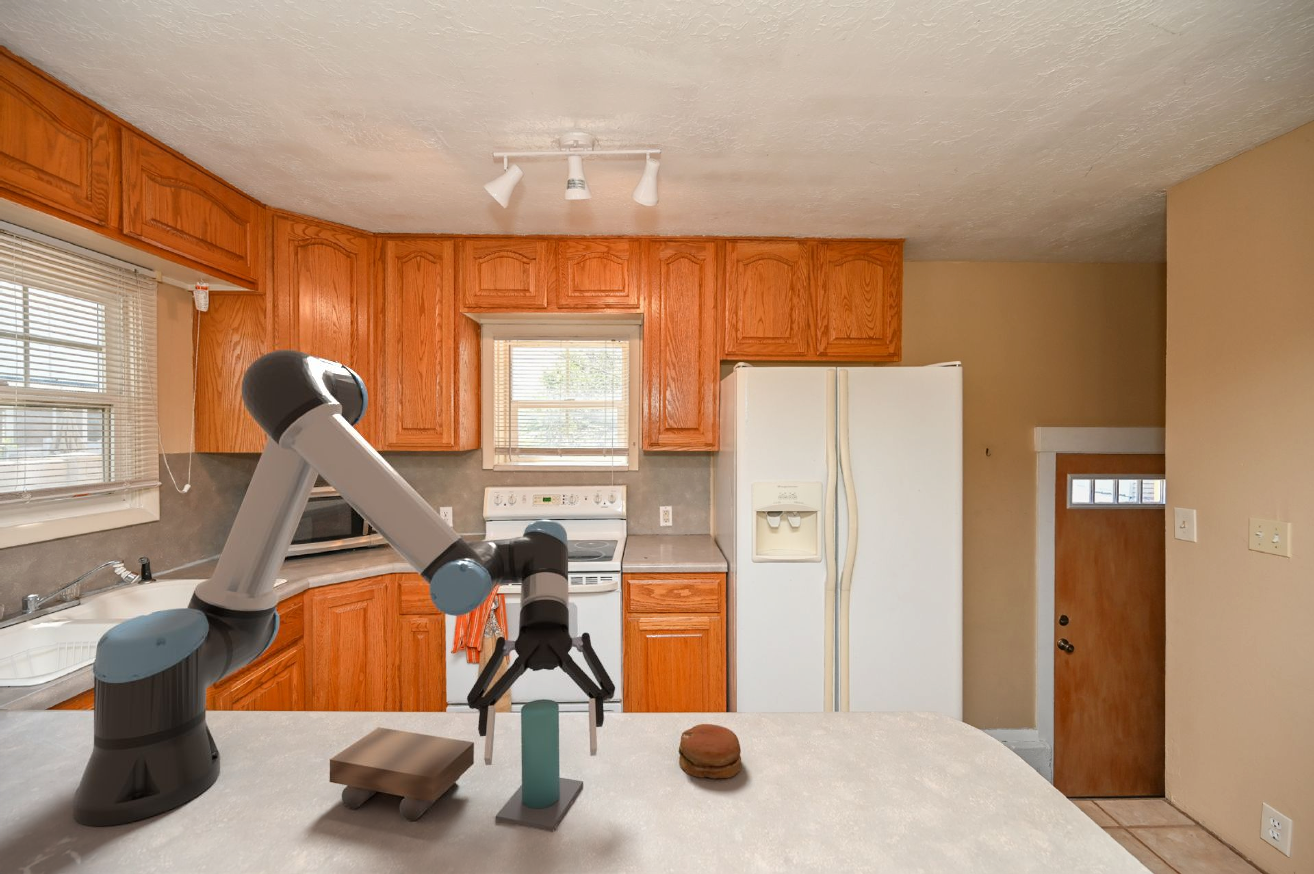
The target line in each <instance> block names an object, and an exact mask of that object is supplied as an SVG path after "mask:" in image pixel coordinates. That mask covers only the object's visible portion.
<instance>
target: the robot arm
mask: <svg viewBox="0 0 1314 874" xmlns="http://www.w3.org/2000/svg"><path fill="white" fill-rule="evenodd" d="M240 389H241V397H242V401H243V404H244V406H245V407H246V409H247V411H248V413H249V414H250V416H251V418H252V419H253V420H254V421H255V423H257V424H258V425H259V426H260V428H261V429H262V430H263V432H264V434H265V435H266V438H267V440H266V443H265V445H264V448H263V451H262V452H261V455H260V457H259V461H258V463H257V466H256V468H255V470H254V472H253V475H252V478H251V480H250V483H249V485H248V488H247V490H246V493H245V495H244V498H243V499H242V503H241V505H240V507H239V510H238V513H237V515H236V517H235V519H234V522H233V525H232V527H231V530H230V531H229V532H230V533H229V536H228V537H227V538H226V542H225V545H224V547H223V549H222V551H221V554H220V557H219V560H218V562H217V564H216V566H215V568H214V571H213V574H212V576H211V577H210V578H208V579H205V580H204V581H201V582H200V583H198V584H197V585H196V586H195V588H194V591H193V593H192V594H191V597H190V600H189V603H188V605H187V608H182V607H181V608H170V609H162V610H158V611H154V612H151V613H150V614H145V615H144V614H143V615H142V614H141V615H139V616H135V617H133V618H131V619H130V618H129V619H128V620H124V621H123V622H120V623H118V624H116V625H115V626H113V627H112V628H110V629H109V630H107V631H106V632H104V634H103V635H102V636H101V637H100V638H99V640H98V642H97V645H96V652H95V659H94V662H93V664H92V667H93V668H92V672H93V676H94V677H93V679H94V680H93V689H94V690H93V748H92V751H91V755H90V757H89V759H88V762H87V764H86V767H85V769H84V772H83V774H82V777H81V780H80V783H79V785H78V787H77V789H76V790H75V793H74V797H73V817H74V819H75V821H77V822H78V823H79V824H82V825H87V826H93V827H94V826H95V827H98V826H99V827H101V826H103V827H104V826H114V825H115V826H116V825H121V824H126V823H131V822H136V821H139V820H143V819H147V818H151V817H153V816H156V815H159V814H162V813H164V812H167V811H170V810H172V809H174V808H175V809H176V807H179V806H181V805H183V804H186V803H187V802H189V801H190V800H193V799H194V798H196V797H198V796H199V795H201V794H202V793H203V792H205V791H206V790H208V789H209V788H210V787H212V785H213V784H215V782H216V781H217V780H218V778H219V776H220V773H221V756H220V755H221V754H220V752H219V750H218V747H217V745H216V742H215V739H214V738H213V736H212V733H211V731H210V729H209V726H208V724H207V720H206V715H207V712H206V711H207V689H208V688H209V687H211V686H213V685H214V684H216V683H218V682H219V681H221V680H223V679H225V678H227V677H228V676H230V675H231V674H234V673H235V672H237V671H239V670H240V669H242V668H244V667H246V666H248V665H250V664H252V663H253V662H254V661H256V660H257V659H258V658H259V657H260V656H262V654H263V653H265V652H267V649H269V648H270V646H271V645H272V644H273V642H274V641H275V639H276V637H277V635H278V633H279V628H280V621H281V620H280V614H279V613H278V612H277V605H278V604H279V601H280V597H279V595H278V593H277V592H276V590H275V589H274V586H275V584H276V581H277V580H278V576H279V573H280V571H281V568H282V567H283V565H284V561H285V558H286V557H287V554H288V552H289V548H290V546H291V543H292V541H293V540H294V536H295V534H296V531H297V530H298V526H299V524H300V521H301V520H302V519H301V518H302V516H303V514H304V511H305V509H306V506H307V504H308V501H309V499H310V496H311V493H312V492H313V489H314V486H315V484H316V482H317V479H318V476H319V475H320V477H321V478H323V480H324V481H326V483H328V484H329V486H331V488H332V489H334V491H336V493H337V494H338V495H339V496H340V497H341V498H343V499H344V501H346V503H348V504H349V506H350V507H351V508H352V509H354V511H356V512H357V514H358V515H360V517H361V518H362V519H364V521H365V522H366V523H368V524H369V525H370V527H372V529H373V530H374V531H375V532H376V533H377V534H378V535H379V536H380V537H381V538H383V540H385V542H386V543H388V544H389V545H390V546H391V548H392V549H393V550H394V551H396V553H398V555H400V556H401V558H403V560H404V561H405V562H406V563H407V564H409V566H411V568H413V570H414V571H415V572H417V574H418V575H419V576H420V577H422V578H423V580H424V581H425V582H426V583H427V584H428V585H429V596H430V599H431V601H432V603H433V605H434V606H435V608H437V610H439V611H440V612H442V613H443V614H446V615H449V616H456V617H458V616H464V615H468V614H470V613H471V612H473V611H475V610H476V609H477V608H478V607H480V606H482V605H483V604H484V603H485V602H486V601H487V599H488V597H489V595H490V594H491V593H492V591H493V590H494V589H495V588H496V587H497V586H502V585H510V584H520V583H521V585H520V602H519V603H520V604H519V607H520V608H519V609H520V610H519V611H520V612H519V621H518V634H517V635H518V636H517V638H516V640H507V639H506V638H505V637H504V636H499V637H497V639H496V642H495V646H494V651H493V653H492V654H491V656H490V658H488V659H489V660H488V661H487V663H486V664H485V666H484V668H483V669H482V670H481V672H480V674H479V676H478V677H477V678H476V679H477V680H476V681H475V683H474V685H473V686H472V688H471V689H470V691H469V692H468V694H467V697H466V700H467V705H468V707H469V709H471V710H473V709H475V710H478V711H479V715H478V724H477V725H478V726H477V730H478V733H479V737H485V743H484V755H483V759H484V764H485V766H492V765H493V764H492V763H493V762H492V761H493V750H494V739H495V724H496V723H495V722H496V708H495V705H496V704H497V703H498V702H499V701H500V700H501V698H502V697H503V696H504V695H505V694H506V693H507V692H508V690H509V689H510V688H511V687H512V686H513V685H514V684H515V682H516V681H517V680H518V679H519V678H520V677H521V676H523V674H524V673H525V672H526V671H527V670H528V669H530V670H532V672H537V671H540V670H541V671H542V670H547V671H553V670H555V669H556V668H558V667H559V668H560V669H561V670H562V671H563V672H564V673H566V674H567V675H568V677H570V679H571V680H572V681H574V682H575V684H576V685H577V686H578V687H579V688H580V689H581V691H582V692H584V694H585V695H586V696H587V697H588V698H589V699H588V700H589V701H588V722H589V723H588V727H589V729H588V730H589V753H590V755H589V756H591V757H592V756H593V757H594V756H597V753H598V752H597V751H598V739H597V738H598V737H597V728H602V727H603V724H604V721H605V715H604V702H605V701H608V700H612V699H613V698H614V696H615V691H616V685H615V684H614V682H613V681H612V679H611V677H610V675H609V673H608V672H607V671H606V668H605V667H604V665H603V664H602V662H601V659H600V658H599V656H598V655H597V653H596V651H595V650H594V648H593V646H592V642H591V636H590V633H588V632H583V633H582V635H581V636H575V637H572V636H571V635H570V619H569V617H570V616H569V615H570V610H569V601H570V600H569V547H568V545H569V544H568V533H567V531H566V528H565V527H564V526H563V525H562V524H561V523H559V522H557V521H554V520H553V519H551V520H550V519H540V520H539V519H538V520H535V522H531V523H529V524H528V525H527V526H526V528H524V531H523V535H522V536H516V537H512V538H503V539H494V540H493V539H492V540H482V541H474V540H472V541H467V542H466V541H465V540H464V539H463V538H462V537H461V535H460V534H459V533H458V532H456V531H455V530H454V529H453V527H452V526H451V525H450V524H449V523H448V522H447V521H446V520H444V518H443V517H442V516H441V515H440V514H439V513H438V512H437V511H436V510H435V509H434V508H433V507H432V506H431V505H430V504H429V503H428V502H427V501H426V500H425V499H424V498H423V497H422V496H421V495H420V494H419V493H418V492H417V491H416V489H414V488H413V487H412V486H411V485H410V484H409V483H408V482H407V481H406V479H404V477H403V476H401V474H399V473H398V471H397V470H395V468H393V466H392V465H390V463H388V461H386V459H385V458H384V457H382V455H381V454H379V452H378V451H377V450H376V449H375V448H374V447H373V446H372V445H371V444H370V443H369V442H368V441H367V440H366V439H365V438H364V437H363V436H362V435H361V434H360V433H359V432H358V431H357V430H356V429H355V428H354V426H355V425H357V424H359V422H360V421H361V420H362V419H363V417H364V416H365V414H366V413H367V409H368V406H369V395H368V390H367V387H366V385H365V383H364V381H363V379H362V378H361V376H360V375H358V374H357V372H355V371H354V370H353V369H351V368H349V367H348V366H346V365H344V364H341V363H339V362H338V361H337V360H335V361H334V360H331V359H328V358H327V359H326V358H324V357H320V356H316V355H312V354H308V353H306V352H303V351H299V350H291V349H281V350H275V351H271V352H267V353H266V354H264V355H261V356H260V357H258V358H257V359H255V360H254V361H253V362H252V363H251V364H250V365H249V366H248V368H247V369H246V371H245V372H244V375H243V377H242V381H241V387H240ZM573 648H575V649H576V651H577V652H578V653H582V656H583V658H584V661H585V662H586V664H587V666H588V668H589V669H590V671H591V673H592V674H593V676H594V678H595V679H596V682H597V683H598V685H599V686H598V685H597V684H596V683H595V682H594V681H593V680H592V679H591V677H590V676H589V675H587V673H586V672H585V671H584V670H583V669H582V668H581V667H580V666H579V665H578V664H577V663H576V662H575V661H574V659H573V657H572V656H571V655H570V653H569V652H570V651H571V650H572V649H573ZM512 651H515V652H516V654H517V655H518V656H517V657H516V658H515V660H514V661H513V663H512V665H510V667H508V669H506V671H505V672H504V673H503V674H502V675H501V676H500V678H499V679H498V680H497V681H496V682H494V684H493V685H492V686H491V688H490V689H489V690H488V691H487V689H488V687H489V686H490V684H491V683H492V681H493V679H494V677H495V676H496V674H497V672H498V670H499V669H500V667H501V665H502V664H503V661H504V658H506V657H508V656H509V655H510V653H511V652H512ZM574 682H573V683H574ZM486 691H487V692H486Z"/></svg>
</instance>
